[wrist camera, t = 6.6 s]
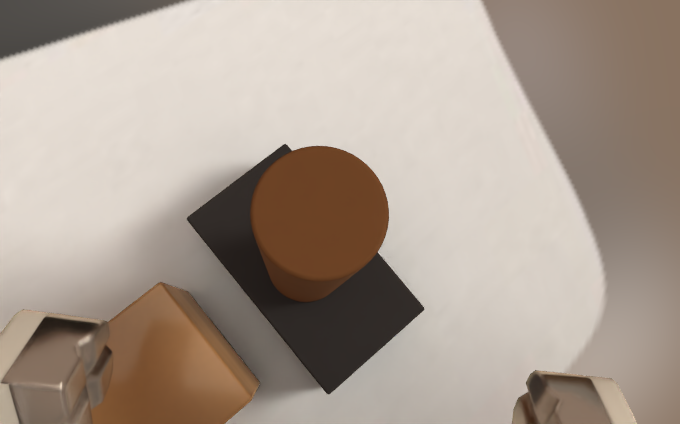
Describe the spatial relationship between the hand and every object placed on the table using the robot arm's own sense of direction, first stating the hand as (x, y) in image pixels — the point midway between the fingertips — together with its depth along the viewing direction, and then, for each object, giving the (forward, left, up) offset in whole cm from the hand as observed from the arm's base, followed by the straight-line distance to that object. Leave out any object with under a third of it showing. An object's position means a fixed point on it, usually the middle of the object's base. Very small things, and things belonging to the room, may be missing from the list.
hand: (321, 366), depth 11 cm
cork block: (-2, +4, -8) cm, 9 cm away
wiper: (+2, +1, -8) cm, 9 cm away
